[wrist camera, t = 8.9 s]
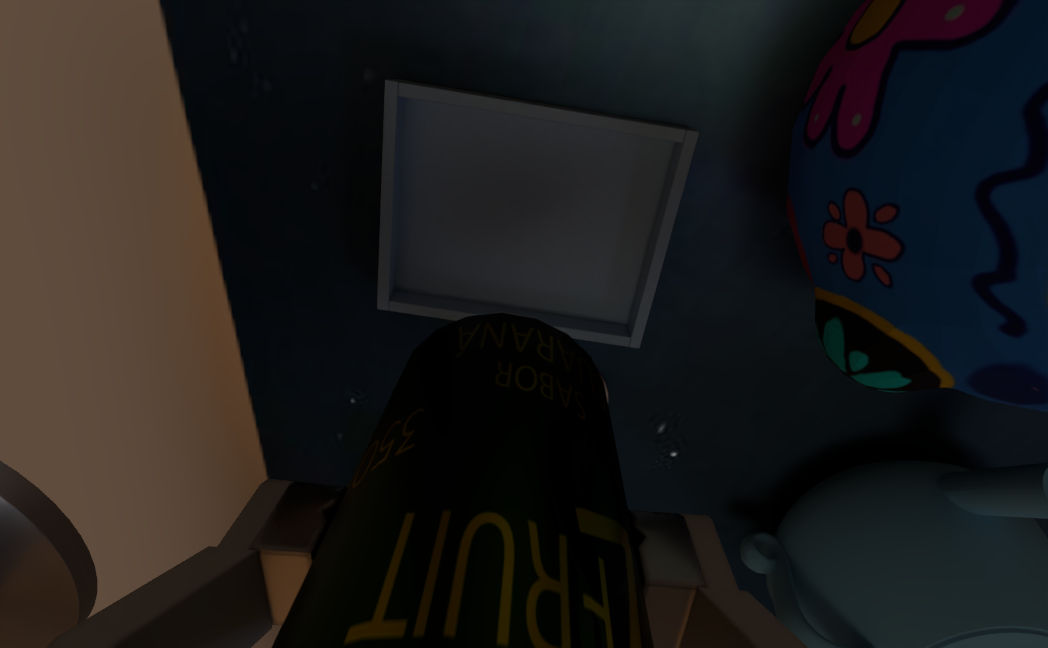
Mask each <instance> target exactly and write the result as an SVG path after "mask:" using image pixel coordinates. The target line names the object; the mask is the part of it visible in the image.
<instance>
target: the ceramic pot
mask: <svg viewBox="0 0 1048 648" xmlns="http://www.w3.org/2000/svg"><path fill="white" fill-rule="evenodd" d="M786 210H787V215H788V218H789V221H790V225H791V228H792V231H793V235H794V238H795V242H796V245H797V248H798V252H799V255H800V258H801V261H802V264H803V266H804V268H805V270H806V272H807V274H808V276H809V278H810V280H811V282H812V284H813V287H814V291H815V299H816V308H815V322H816V329H817V336H818V340H819V342H820V344H821V346H822V348H823V350H824V352H825V354H826V356H827V358H828V359H829V360H830V361H831V362H832V363H833V364H834V365H835V366H836V367H837V368H838V369H839V370H840V371H841V372H842V373H843V374H844V375H846V376H848V377H850V378H851V379H853V380H855V381H857V382H859V383H861V384H863V385H865V386H867V387H868V388H872V389H876V390H880V391H885V392H908V391H919V390H924V389H931V388H939V387H948V388H953V389H957V390H960V391H962V392H965V393H968V394H971V395H973V396H976V397H979V398H982V399H985V400H989V401H993V402H998V403H1003V404H1008V405H1013V406H1018V407H1023V408H1029V409H1034V410H1039V411H1045V412H1048V0H866V1H865V2H864V3H863V4H862V5H861V6H860V7H859V8H858V9H857V11H856V12H855V13H854V15H853V16H852V18H851V19H850V21H849V22H848V24H847V25H846V27H845V28H844V29H843V31H842V32H841V34H840V35H839V37H838V38H837V40H836V41H835V43H834V44H833V45H832V47H831V48H830V50H829V51H828V53H827V54H826V56H825V57H824V59H823V60H822V61H821V63H820V64H819V66H818V68H817V71H816V73H815V76H814V78H813V81H812V83H811V85H810V88H809V90H808V93H807V95H806V98H805V100H804V103H803V105H802V107H801V110H800V112H799V115H798V117H797V120H796V122H795V124H794V127H793V130H792V143H791V155H790V167H789V179H788V191H787V203H786Z"/></svg>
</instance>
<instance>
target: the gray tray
mask: <svg viewBox="0 0 1048 648" xmlns="http://www.w3.org/2000/svg"><path fill="white" fill-rule="evenodd" d="M698 136H699V131H696V130H694V129H691V128H688V127H684V126H678V125H672V124H666V123H660V122H654V121H647V120H641V119H635V118H629V117H623V116H617V115H611V114H605V113H599V112H593V111H587V110H581V109H575V108H569V107H563V106H557V105H551V104H545V103H539V102H533V101H527V100H521V99H515V98H509V97H503V96H497V95H491V94H485V93H479V92H473V91H467V90H461V89H455V88H449V87H443V86H437V85H431V84H425V83H419V82H413V81H407V80H401V79H388V80H385V93H384V122H383V150H382V179H381V208H380V236H379V265H378V293H377V309H381V310H389V311H395V312H402V313H408V314H415V315H421V316H428V317H435V318H441V319H448V320H455V321H457V320H460V319H462V318H464V317H467V316H473V315H480V314H489V313H498V312H508V313H513V314H519V315H525V316H531V317H534V318H536V319H538V320H540V321H542V322H544V323H546V324H548V325H550V326H552V327H554V328H556V329H558V330H560V331H562V332H564V333H566V334H568V335H569V336H570V337H571V338H574V339H580V340H587V341H593V342H600V343H607V344H613V345H620V346H627V347H628V346H629V347H632V348H640V344H641V341H642V337H643V333H644V330H645V326H646V323H647V319H648V315H649V312H650V308H651V305H652V301H653V298H654V294H655V290H656V287H657V283H658V280H659V276H660V272H661V269H662V265H663V262H664V258H665V254H666V251H667V247H668V244H669V240H670V236H671V233H672V229H673V226H674V222H675V219H676V215H677V211H678V208H679V204H680V201H681V197H682V193H683V190H684V186H685V183H686V179H687V175H688V172H689V168H690V165H691V161H692V157H693V154H694V150H695V147H696V143H697V140H698Z"/></svg>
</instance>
